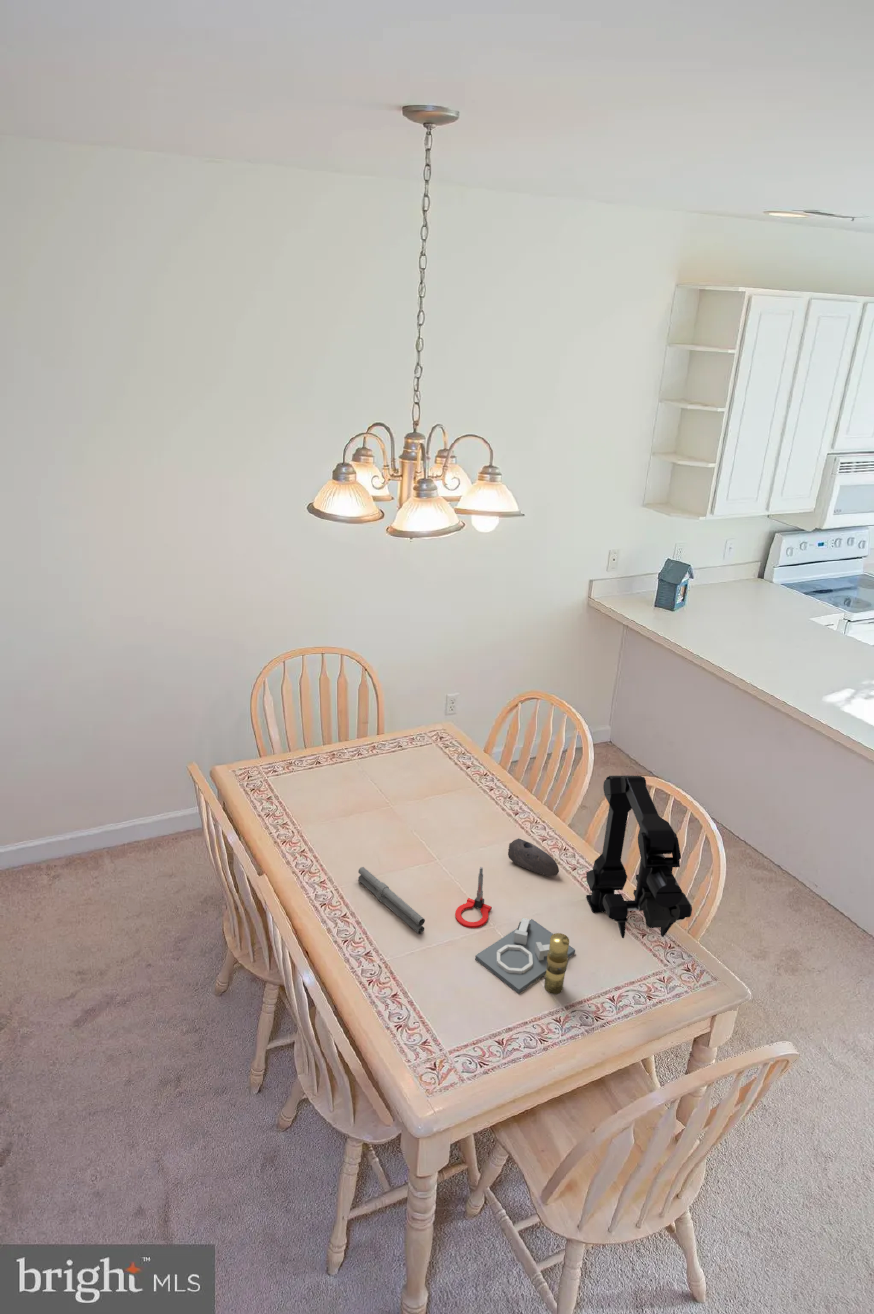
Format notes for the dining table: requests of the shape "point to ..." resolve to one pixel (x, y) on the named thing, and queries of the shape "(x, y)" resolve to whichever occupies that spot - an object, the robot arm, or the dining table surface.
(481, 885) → the tow hook
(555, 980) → the coupler
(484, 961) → the base
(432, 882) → the dining table surface
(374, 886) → the metal rod assembly
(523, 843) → the perforated stone tool
